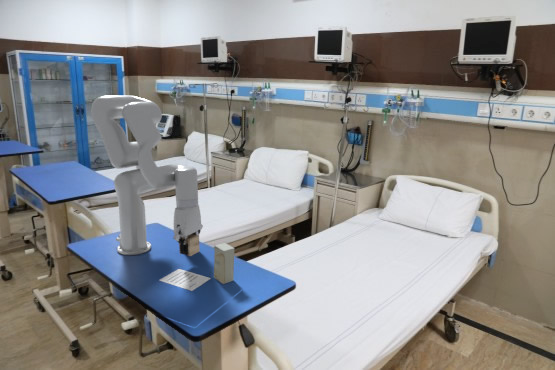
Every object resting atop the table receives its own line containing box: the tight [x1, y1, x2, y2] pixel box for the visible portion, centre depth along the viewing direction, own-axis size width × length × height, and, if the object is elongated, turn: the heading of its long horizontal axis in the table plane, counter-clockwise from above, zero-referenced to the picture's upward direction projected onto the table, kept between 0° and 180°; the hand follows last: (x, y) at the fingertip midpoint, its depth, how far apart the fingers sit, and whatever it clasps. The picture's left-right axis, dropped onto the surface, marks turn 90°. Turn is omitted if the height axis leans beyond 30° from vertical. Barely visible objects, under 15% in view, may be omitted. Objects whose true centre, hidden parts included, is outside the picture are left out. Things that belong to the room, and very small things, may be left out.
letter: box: [158, 268, 212, 292], centre depth 133 cm, size 14×10×1 cm
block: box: [178, 234, 201, 257], centre depth 141 cm, size 5×5×6 cm
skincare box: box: [213, 241, 235, 285], centre depth 133 cm, size 6×4×12 cm
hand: (189, 250), depth 142 cm, fingers closed on block, 5 cm apart
